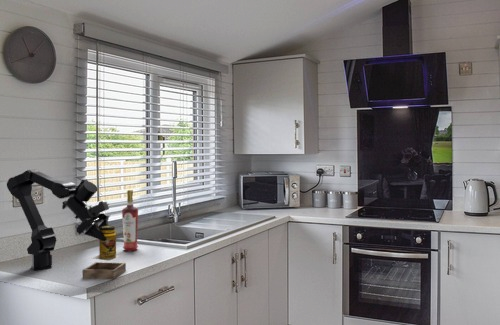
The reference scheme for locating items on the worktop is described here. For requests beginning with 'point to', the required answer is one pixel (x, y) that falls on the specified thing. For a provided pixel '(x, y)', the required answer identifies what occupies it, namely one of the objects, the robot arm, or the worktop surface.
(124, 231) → the liquor
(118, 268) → the walnut tray
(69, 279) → the worktop surface
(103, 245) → the condiment
